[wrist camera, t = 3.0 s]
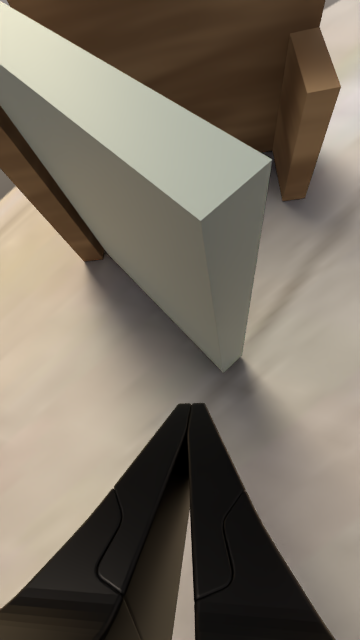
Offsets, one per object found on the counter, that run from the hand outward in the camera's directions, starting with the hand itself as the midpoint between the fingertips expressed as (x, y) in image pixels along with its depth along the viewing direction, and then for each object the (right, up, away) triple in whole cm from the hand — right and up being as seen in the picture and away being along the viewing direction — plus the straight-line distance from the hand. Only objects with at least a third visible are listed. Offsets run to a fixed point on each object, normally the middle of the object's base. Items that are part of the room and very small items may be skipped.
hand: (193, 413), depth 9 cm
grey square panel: (-2, +5, +10) cm, 11 cm away
